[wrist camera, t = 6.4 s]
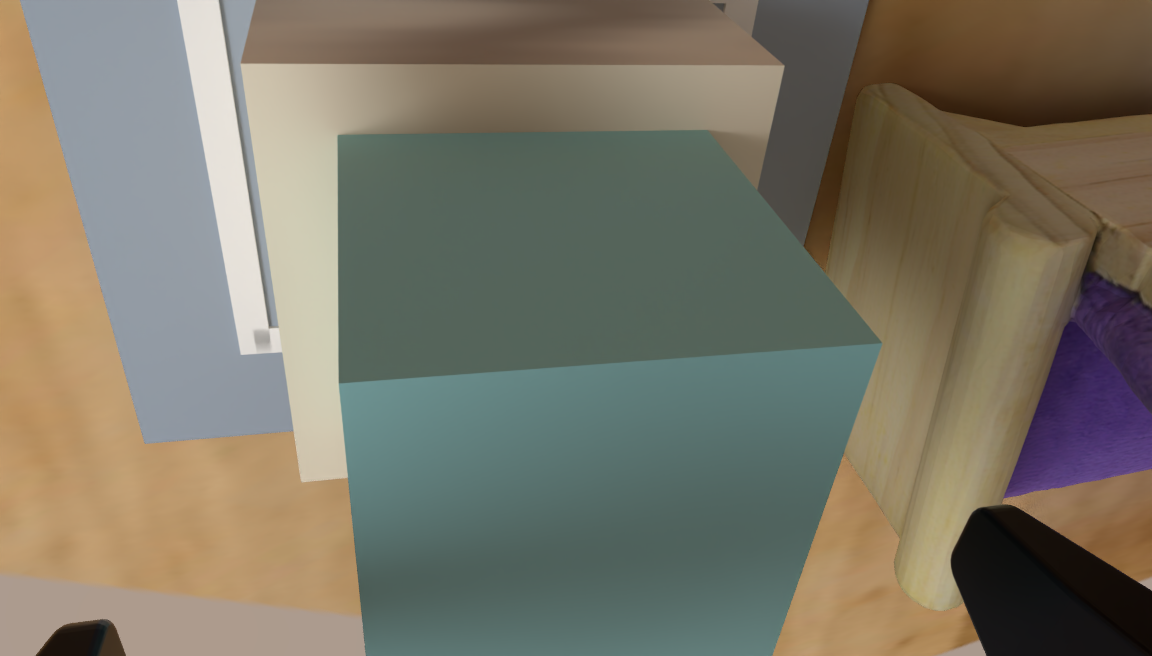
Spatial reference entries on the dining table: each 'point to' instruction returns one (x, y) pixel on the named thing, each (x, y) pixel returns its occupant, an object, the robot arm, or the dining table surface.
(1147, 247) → the toy sofa
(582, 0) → the block
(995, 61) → the dining table surface
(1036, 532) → the robot arm
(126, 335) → the building mat
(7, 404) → the dining table surface
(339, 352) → the teal block
